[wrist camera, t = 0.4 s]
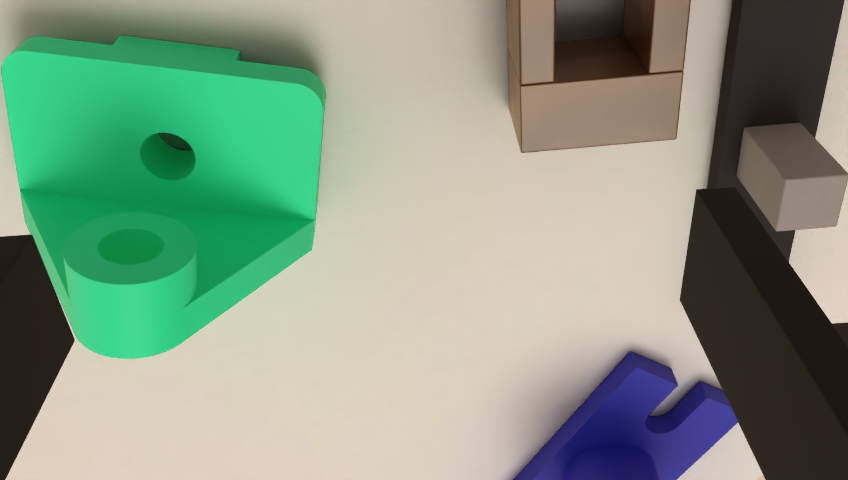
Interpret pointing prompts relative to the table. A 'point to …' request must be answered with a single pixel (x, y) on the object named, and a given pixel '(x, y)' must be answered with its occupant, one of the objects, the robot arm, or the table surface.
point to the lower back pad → (778, 115)
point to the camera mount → (160, 180)
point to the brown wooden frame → (595, 77)
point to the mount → (634, 429)
